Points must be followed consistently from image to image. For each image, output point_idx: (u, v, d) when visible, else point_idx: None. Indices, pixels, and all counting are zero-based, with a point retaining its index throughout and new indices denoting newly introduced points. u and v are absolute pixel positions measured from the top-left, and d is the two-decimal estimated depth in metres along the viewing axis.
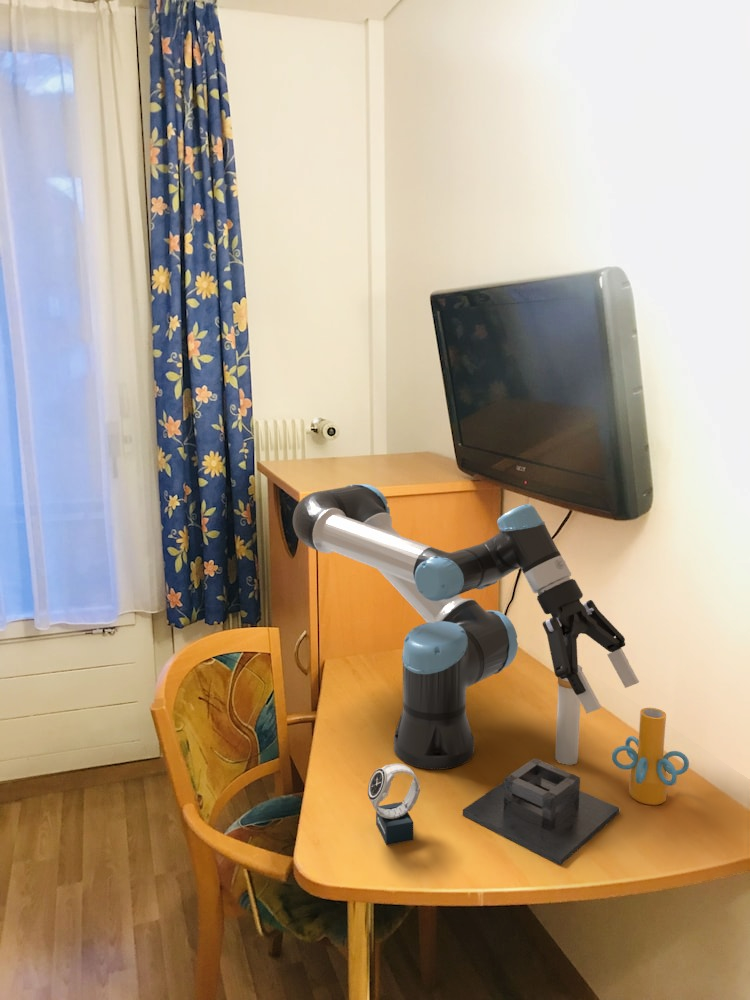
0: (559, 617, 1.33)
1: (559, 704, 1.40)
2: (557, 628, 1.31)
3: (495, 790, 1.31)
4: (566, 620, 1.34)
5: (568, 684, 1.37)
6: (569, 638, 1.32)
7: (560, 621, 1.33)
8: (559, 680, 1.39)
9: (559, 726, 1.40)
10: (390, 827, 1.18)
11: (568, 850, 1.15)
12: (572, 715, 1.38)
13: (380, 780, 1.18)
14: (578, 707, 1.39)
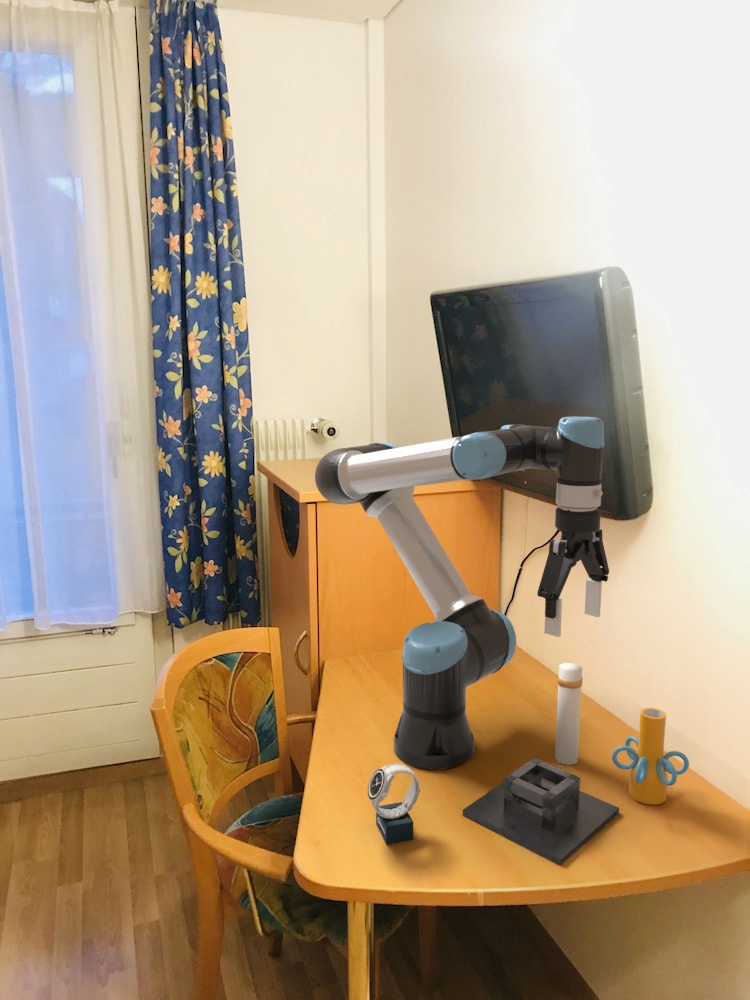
0: (568, 542, 1.31)
1: (559, 704, 1.40)
2: (562, 554, 1.29)
3: (495, 790, 1.31)
4: (572, 547, 1.31)
5: (568, 684, 1.37)
6: (566, 564, 1.31)
7: (567, 545, 1.31)
8: (559, 680, 1.39)
9: (559, 726, 1.40)
10: (390, 827, 1.18)
11: (568, 850, 1.15)
12: (572, 715, 1.38)
13: (380, 780, 1.18)
14: (578, 707, 1.39)
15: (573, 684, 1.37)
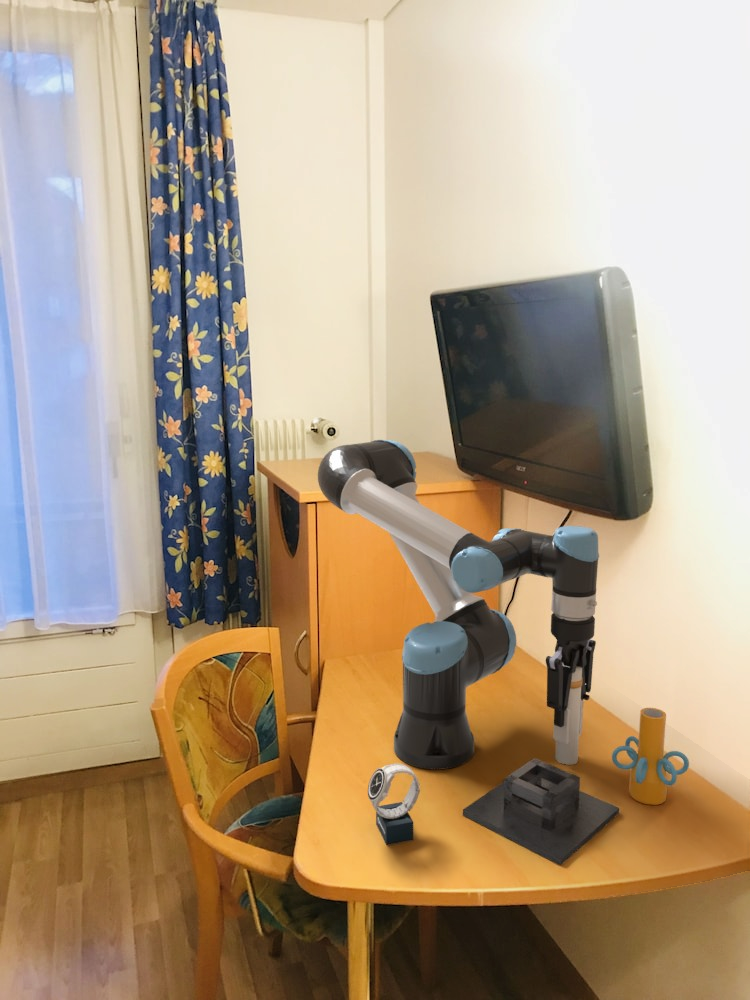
0: (562, 653, 1.35)
1: None
2: (559, 670, 1.34)
3: (495, 790, 1.31)
4: (568, 654, 1.35)
5: None
6: (566, 674, 1.37)
7: (562, 656, 1.35)
8: None
9: None
10: (390, 827, 1.18)
11: (568, 850, 1.15)
12: (572, 715, 1.38)
13: (380, 780, 1.18)
14: (578, 707, 1.39)
15: (573, 684, 1.37)
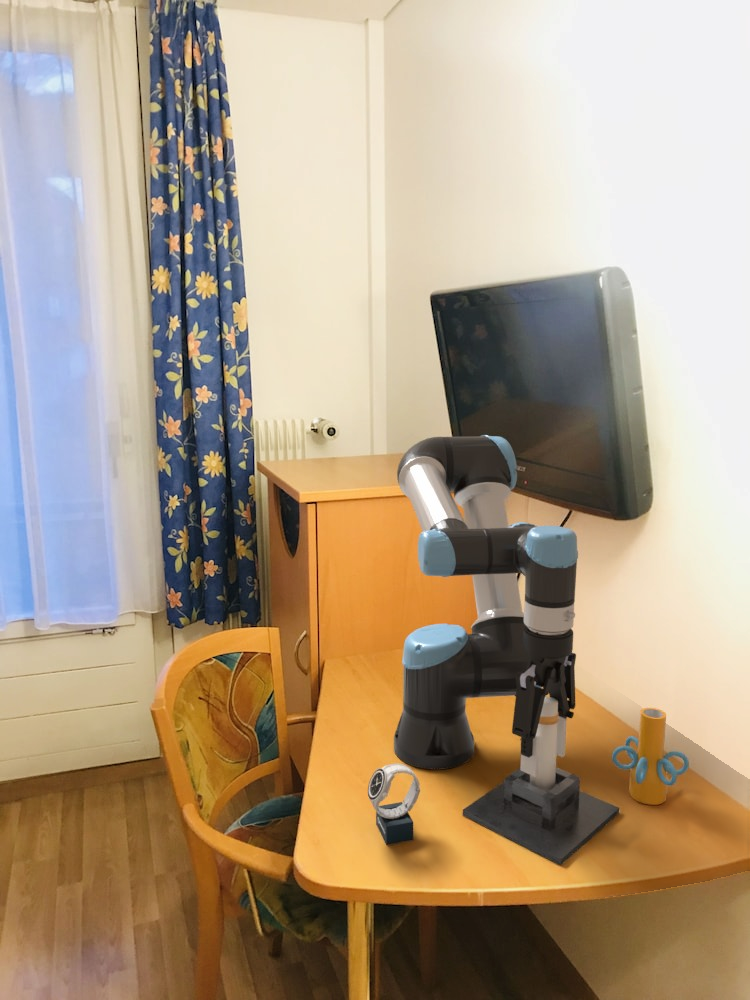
0: (536, 670, 1.17)
1: None
2: (530, 690, 1.16)
3: (495, 790, 1.31)
4: (542, 673, 1.18)
5: (542, 719, 1.22)
6: (538, 695, 1.18)
7: (535, 674, 1.17)
8: None
9: None
10: (390, 827, 1.18)
11: (568, 850, 1.15)
12: (547, 756, 1.22)
13: (380, 780, 1.18)
14: (553, 747, 1.23)
15: (548, 719, 1.21)
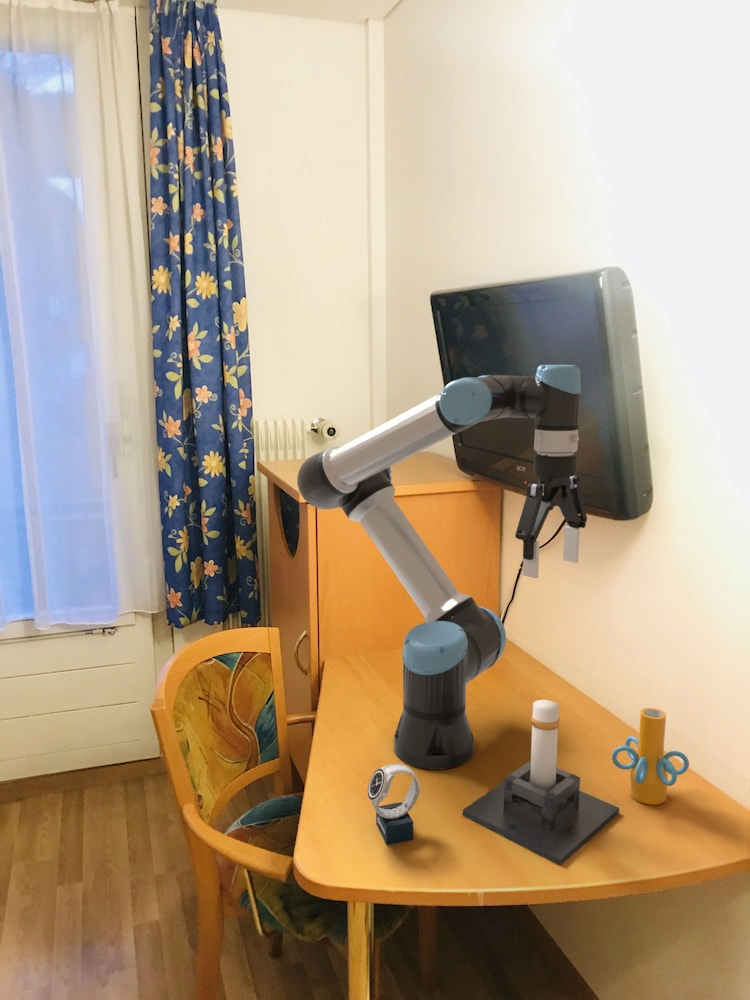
0: (545, 486, 1.35)
1: (533, 747, 1.23)
2: (539, 497, 1.33)
3: (495, 790, 1.31)
4: (550, 491, 1.35)
5: (543, 725, 1.20)
6: (543, 508, 1.35)
7: (544, 489, 1.35)
8: (533, 720, 1.22)
9: (533, 772, 1.23)
10: (390, 827, 1.18)
11: (568, 850, 1.15)
12: (548, 760, 1.21)
13: (380, 780, 1.18)
14: (554, 751, 1.22)
15: (548, 725, 1.20)
